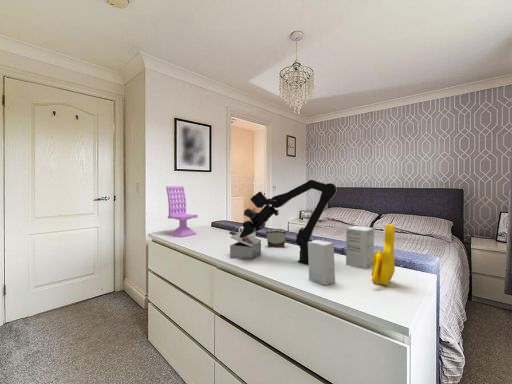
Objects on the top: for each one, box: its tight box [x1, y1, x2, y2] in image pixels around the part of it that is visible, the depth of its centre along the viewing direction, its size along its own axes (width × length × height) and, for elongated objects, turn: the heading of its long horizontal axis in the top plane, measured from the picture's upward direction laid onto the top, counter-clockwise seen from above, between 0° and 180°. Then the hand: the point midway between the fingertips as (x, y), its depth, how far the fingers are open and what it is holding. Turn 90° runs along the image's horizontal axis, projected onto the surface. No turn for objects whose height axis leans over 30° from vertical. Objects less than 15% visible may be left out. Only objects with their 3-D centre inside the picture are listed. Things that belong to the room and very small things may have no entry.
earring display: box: [165, 185, 199, 238], centre depth 183 cm, size 15×17×35 cm
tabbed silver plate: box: [228, 230, 262, 247], centre depth 130 cm, size 15×12×2 cm
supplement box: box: [345, 225, 375, 270], centre depth 115 cm, size 10×9×17 cm
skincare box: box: [308, 239, 336, 286], centre depth 96 cm, size 8×6×15 cm
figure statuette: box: [371, 223, 396, 287], centre depth 93 cm, size 18×8×22 cm, turn 145°
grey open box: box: [229, 241, 262, 261], centre depth 129 cm, size 12×12×6 cm
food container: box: [265, 228, 288, 249], centre depth 149 cm, size 12×6×10 cm, turn 84°
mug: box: [238, 225, 257, 238], centre depth 156 cm, size 11×9×10 cm
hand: (243, 235), depth 130 cm, fingers open, 9 cm apart
